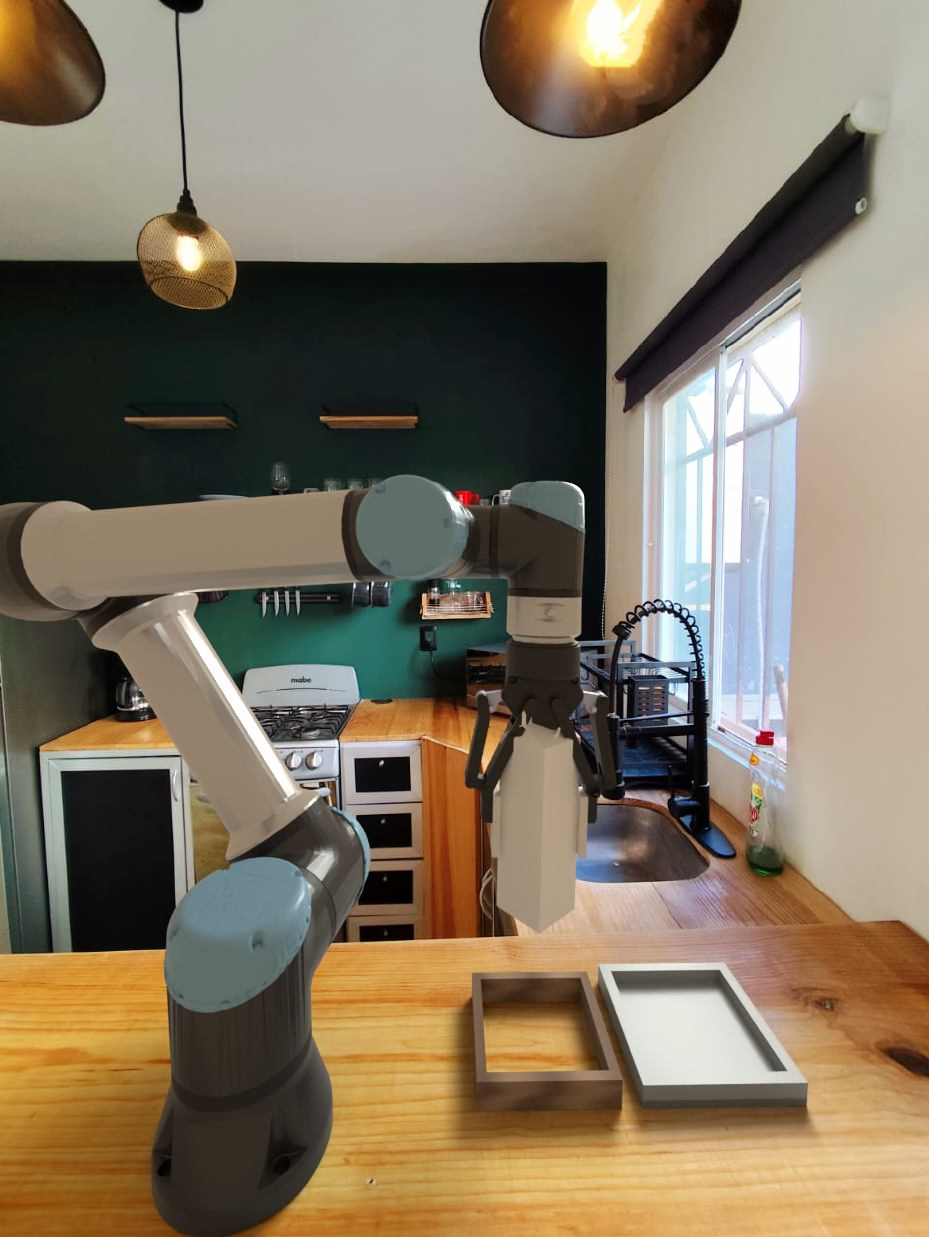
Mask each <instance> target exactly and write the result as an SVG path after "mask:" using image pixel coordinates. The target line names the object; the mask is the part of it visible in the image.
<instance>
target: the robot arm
mask: <svg viewBox="0 0 929 1237" xmlns="http://www.w3.org/2000/svg"><path fill="white" fill-rule="evenodd" d="M509 493H510V494H509V498H508V500H507V503H500V504H493V505H492V504H491V505H487V504H486V505H484V504H483V505H482V504H481V505H479V504H476V505H474V504H461V503H460V501H459V498H457V497H456V496H455V495H454V494H453V493H452V492H451V491H450V490H449V489H448V488H446V487H445V486H444V485H442V484H441V483H439V482H438V481H433V480H430V479H428V478H426V477H423V476H418V475H412V474H398V475H395V476H394V475H393V476H391V477H389V478H386V479H384V480H382V481H380V482H378V483H377V484H376V485H374V486H373V487H366V488H359V489H354V488H353V489H340V490H328V491H317V492H304V493H302V492H301V493H291V494H279V495H267V496H256V497H255V496H254V497H242V498H230V499H220V500H219V499H218V500H207V501H206V500H205V501H204V500H203V501H194V502H192V501H191V502H183V503H170V504H158V505H144V506H133V507H132V506H131V507H120V508H118V507H117V508H109V509H107V508H106V509H96V510H91V509H90V508H89V507H87V506H85V505H83V504H80V503H78V502H74V501H70V500H56V501H55V500H54V501H44V502H28V501H27V502H14V503H13V502H12V503H6V504H3V505H0V614H1V615H5V616H7V617H12V618H13V619H18V620H24V621H33V622H35V621H36V622H54V621H55V622H56V621H67V620H68V621H69V620H72V621H73V620H77V621H78V622H79V624H80V625H81V627H82V629H83V630H84V632H85V633H86V635H87V637H88V638H89V640H90V641H91V642H92V645H93V646H94V647H96V648H98V649H103V650H106V651H107V650H108V651H112V652H115V653H117V655H118V656H119V658H120V659H121V661H122V663H123V664H124V666H125V667H126V668H127V670H128V672H129V673H130V675H131V677H132V679H133V680H134V681H135V683H136V685H137V686H138V688H139V690H140V691H141V693H142V694H143V696H144V698H145V699H146V701H147V702H148V704H149V707H151V709H152V710H153V712H154V715H155V716H156V718H157V719H158V720H159V722H160V724H161V725H162V727H163V728H164V730H165V732H166V733H167V735H168V737H169V738H170V740H171V741H172V743H173V744H174V747H175V748H176V750H177V751H178V753H179V754H180V756H181V757H182V759H183V761H184V762H185V764H186V765H187V767H188V769H189V770H190V772H191V774H192V775H193V777H194V779H195V780H196V782H197V784H198V785H199V786H200V788H201V790H202V791H203V793H204V795H205V797H206V798H207V800H208V801H209V802H210V804H211V807H213V809H214V811H215V812H216V814H217V816H218V817H219V818H220V820H221V822H222V824H223V825H224V827H225V828H226V831H227V832H228V833H229V842H228V845H227V849H226V853H225V856H224V858H225V860H226V861H227V863H228V864H229V868H227V869H224V870H223V869H220V868H219V869H217V870H215V871H213V872H211V873H210V874H208V875H206V876H205V877H203V878H202V879H201V880H199V881H198V882H197V883H196V884H194V885H193V886H192V887H191V888H190V889H189V890H188V891H186V893H185V894H184V896H182V898H181V899H180V900H179V902H178V904H177V905H176V906H175V909H174V910H173V912H172V914H171V917H170V919H169V923H168V926H167V930H166V945H165V946H166V947H165V951H164V958H163V971H164V972H163V976H164V977H163V978H164V983H165V985H166V986H165V987H166V997H167V998H166V1000H167V1001H166V1002H167V1004H166V1005H167V1021H168V1036H169V1037H168V1038H169V1039H168V1040H169V1055H170V1056H169V1057H170V1076H171V1082H170V1085H169V1088H168V1092H167V1095H166V1097H165V1102H164V1105H163V1108H162V1111H161V1114H160V1117H159V1122H158V1123H157V1127H156V1130H155V1133H154V1137H153V1142H152V1145H151V1146H152V1148H151V1154H150V1174H151V1175H150V1176H151V1178H150V1179H151V1190H152V1191H151V1192H152V1197H153V1201H154V1203H155V1207H156V1209H157V1211H158V1213H159V1214H160V1216H161V1217H162V1218H163V1220H164V1221H165V1222H166V1223H167V1224H168V1225H169V1226H170V1227H172V1228H173V1229H175V1230H176V1231H178V1232H180V1233H182V1234H185V1235H188V1236H192V1237H225V1236H230V1235H234V1234H238V1233H241V1232H243V1231H245V1230H248V1229H250V1228H252V1227H254V1226H257V1225H259V1224H261V1223H262V1222H264V1221H265V1220H268V1219H269V1218H271V1217H272V1216H273V1215H275V1214H276V1213H277V1212H279V1211H280V1210H281V1209H283V1208H284V1207H285V1206H286V1205H287V1204H288V1203H289V1202H290V1201H291V1200H293V1198H294V1197H296V1196H297V1194H299V1192H300V1191H301V1190H302V1189H303V1188H304V1187H305V1185H306V1184H307V1183H308V1181H310V1179H311V1178H312V1176H313V1175H314V1173H315V1172H316V1169H317V1168H318V1167H319V1165H320V1163H321V1162H322V1159H323V1158H324V1154H326V1150H327V1147H328V1144H329V1142H330V1138H331V1133H332V1129H333V1118H334V1109H333V1108H334V1105H333V1102H334V1101H333V1088H332V1087H333V1086H332V1081H331V1077H330V1074H329V1072H328V1069H327V1068H326V1065H325V1063H324V1062H325V1061H324V1060H323V1058H322V1055H321V1052H320V1051H319V1048H318V1046H317V1043H316V1040H315V1038H314V1037H313V1028H312V1025H313V1024H312V1022H313V1021H312V983H313V978H314V975H315V973H316V971H317V969H318V967H319V966H320V964H321V961H322V960H323V958H324V957H325V955H326V953H327V951H328V949H329V948H330V947H331V945H332V944H333V941H334V940H335V937H336V936H337V934H338V932H340V929H341V927H342V926H343V924H344V922H345V920H346V918H347V917H348V915H349V914H350V912H351V910H352V909H353V908H354V906H356V905H357V902H358V900H359V899H360V897H361V895H362V893H363V890H364V886H365V883H366V881H367V878H368V876H369V872H370V866H371V849H370V844H369V841H368V836H367V834H366V832H365V831H364V828H363V827H362V826H361V824H360V822H359V821H358V820H357V819H356V818H355V817H354V816H353V815H352V814H350V812H347V811H345V810H340V809H338V808H337V807H335V806H331V805H328V804H327V802H326V801H325V800H324V798H323V797H322V795H321V793H320V792H319V791H316V790H312V789H307V788H302V787H301V786H300V785H299V784H298V782H296V779H295V778H294V777H293V775H292V773H291V771H290V770H289V768H288V766H287V765H286V763H285V762H284V760H283V759H282V757H281V755H280V754H279V752H278V750H277V749H276V747H275V746H274V744H273V742H272V741H271V740H270V738H269V736H268V734H267V733H266V731H265V730H264V728H263V726H262V725H261V723H260V721H259V720H258V719H257V717H256V715H255V713H254V712H253V710H252V708H251V707H250V705H249V703H248V701H246V699H245V697H244V696H243V694H242V692H241V690H240V689H239V688H238V686H237V685H236V682H235V680H233V677H232V676H231V674H230V673H229V671H228V670H227V669H226V666H225V665H224V664H223V661H222V660H221V658H220V657H219V655H218V654H217V652H216V650H215V649H214V648H213V646H212V644H211V643H210V641H209V639H208V638H207V635H206V634H205V632H204V631H203V628H201V626H200V625H199V623H198V622H197V620H196V618H195V615H194V614H195V612H196V609H197V606H198V603H199V597H198V595H197V593H198V592H199V593H201V592H216V591H217V592H218V591H230V590H231V591H234V590H247V589H248V590H249V589H250V590H251V589H265V588H266V589H267V588H268V589H269V588H279V587H280V588H281V587H282V588H283V587H299V586H302V587H303V586H313V585H314V586H315V585H333V584H347V583H348V584H352V583H364V582H365V583H367V582H368V583H374V582H375V583H379V582H380V583H381V582H395V581H403V582H404V581H405V582H415V581H426V580H432V579H434V580H435V579H437V580H438V579H453V580H454V579H460V580H461V579H463V580H464V579H492V580H499V579H502V580H503V579H504V580H507V585H508V586H507V587H508V588H507V601H506V602H507V603H506V604H507V606H506V608H507V610H506V632H507V633H508V634H509V635H510V636H511V638H509V639H508V641H506V648H505V649H506V650H505V679H504V682H503V683H502V686H501V688H500V689H495V690H489V691H485V690H484V689H478V690H477V691H476V693H475V702H476V707H477V710H476V711H477V713H476V717H475V723H474V726H473V727H474V728H473V733H472V736H471V741H470V746H469V751H468V756H467V760H466V764H465V770H464V785H465V787H466V788H467V789H469V790H470V789H474V790H477V791H478V792H480V818H481V821H482V824H490V840H489V843H490V845H489V846H490V851H491V858H498V857H499V853H500V810H501V795H500V790H499V785H498V784H499V780H500V777H501V775H502V773H503V771H504V769H505V767H506V765H507V763H508V761H509V759H510V757H511V755H512V753H513V751H514V738H515V737H520V736H522V735H523V733H524V731H525V728H524V727H523V726H521V727H519V726H520V725H522V712H523V711H525V713H526V724H527V725H528V723H529V721H530V719H531V717H532V723H534V724H536V725H539V726H543V727H545V728H548V729H550V730H557V728H559V727H560V728H561V729H560V730H561V732H562V734H563V735H564V737H565V738H570V739H572V740H573V759H574V761H575V764H576V766H577V769H578V771H579V780H580V781H581V784H582V786H579V797H578V826H577V858H579V859H585V858H586V859H587V844H588V843H587V842H588V824H590V825H591V824H592V825H593V824H596V822H597V819H598V800H599V798H600V797H601V796H602V791H606V790H609V791H611V790H614V789H615V788H616V787H617V786H618V783H617V777H616V776H617V775H616V770H615V762H614V756H613V749H612V743H611V738H610V736H611V735H610V730H609V725H608V724H609V723H608V716H609V710H610V705H611V699H610V697H609V696H607V695H606V694H605V693H604V692H603V691H601V690H596V691H594V692H591V691H585V690H583V688H582V686H581V684H580V683H581V682H580V675H581V674H580V672H581V671H580V670H581V669H580V668H581V667H580V665H581V644H579V641H577V640H576V639H575V638H577V637H579V636H580V635H581V634H582V600H583V599H582V596H583V580H584V579H583V578H584V577H583V576H584V558H585V556H584V555H585V536H586V528H585V496H584V493H583V491H582V490H581V488H580V487H578V486H577V485H575V484H573V483H571V482H570V483H569V482H565V481H558V480H555V481H553V480H552V481H551V480H539V481H538V480H537V481H532V482H531V481H528V482H527V481H526V482H521V483H518V484H516V485H513V487H511V488H510V492H509ZM196 592H197V593H196ZM500 702H503V703H504V705H505V706H506V707H507V709H508V710H509V712H510V713H511V715H510V717H509V719H508V721H507V724H506V727H505V730H504V732H503V733H505V732H508V731H509V732H508V733H507V735H506V737H505V738H504V740H503V741H502V743H501V744H500V741H499V742H498V743H497V746H496V748H495V749H494V752H493V754H492V756H491V758H490V761H489V762H488V763H487V766H486V768H485V770H484V772H483V774H481V773H480V770H481V765H482V760H483V756H484V751H485V746H486V743H487V739H488V738H487V736H488V732H489V728H490V723H491V722H490V721H491V714H492V713H495V712H496V711H497V709H498V704H499V703H500ZM581 703H584V709H585V710H586V712H588V713H589V721H590V727H591V734H592V742H593V746H594V752H595V761H596V767H597V774H593V773H594V772H593V771H592V769H591V766H590V765H589V761H588V759H587V757H586V755H585V753H584V752H585V751H584V750H583V747H582V745H581V744H580V743H579V740H578V738H577V736H576V733H577V732H576V730H575V728H574V725H573V722H572V721H571V719H570V718H571V716H572V715H573V714H574V713H575V712H576V710H577V709H578V707H579V706H580V705H581Z"/></svg>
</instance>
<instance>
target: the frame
mask: <svg viewBox="0 0 929 1237" xmlns="http://www.w3.org/2000/svg"><path fill="white" fill-rule="evenodd" d="M471 1000H472V1001H471V1003H472V1004H471V1010H472V1029H473V1053H474V1056H473V1058H474V1076H475V1078H474V1079H475V1098H476V1100H475V1101H476V1102H475V1104H476V1112H500V1111H501V1112H502V1111H504V1112H505V1111H507V1112H508V1111H509V1112H510V1111H511V1112H512V1111H514V1112H515V1111H557V1110H558V1111H559V1110H560V1111H561V1110H565V1111H566V1110H567V1111H569V1110H570V1111H571V1110H621V1109H623V1095H624V1094H623V1092H624V1091H623V1086H624V1085H623V1084H624V1079H623V1075H622V1073H621V1070H620V1067H619V1064H618V1062H617V1058H616V1056H615V1052H614V1049H613V1047H612V1043H611V1040H610V1037H609V1034H608V1032H607V1031H608V1030H607V1028H606V1025H605V1023H604V1019H603V1016H602V1013H601V1011H600V1010H601V1009H600V1006H599V1005H598V1001H597V998H596V996H595V992H594V989H593V987H592V983H591V981H590V977H589V974H588V971H524V972H523V971H518V972H517V971H514V972H512V971H511V972H510V971H509V972H507V971H506V972H499V971H498V972H471ZM531 1002H533V1003H535V1002H537V1003H539V1002H540V1003H541V1002H543V1003H544V1002H545V1003H546V1002H579V1003H580V1006H581V1009H582V1012H583V1015H584V1016H583V1017H584V1021H585V1023H586V1026H587V1029H588V1033H589V1036H590V1040H591V1043H592V1044H591V1045H592V1047H593V1049H594V1050H593V1051H594V1053H595V1056H596V1060H597V1064H598V1067H599V1070H598V1069H597V1070H552V1071H551V1070H547V1071H544V1070H543V1071H541V1070H540V1071H538V1070H537V1071H487V1058H486V1057H487V1055H486V1054H487V1053H486V1040H485V1039H486V1038H485V1026H484V1025H485V1024H484V1023H485V1022H484V1010H483V1009H484V1008H483V1003H531Z"/></svg>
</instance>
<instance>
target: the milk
mask: <svg viewBox="0 0 929 1237" xmlns="http://www.w3.org/2000/svg"><path fill="white" fill-rule="evenodd" d="M521 726H523V727H524V728H525V731H524V733H523V735H522V736H520V737H515V738H514V751H513V753H512V755H511V757H510V759H509V761H508V763H507V765H506V767H505V769H504V771H503V773H502V775H501V777H500V779H499V781H498V786H499V790H500V795H501V810H500V853H499V857H497V872H496V873H497V874H496V878H497V880H496V907H498V908H499V909H500V910H501V911H503V912H505V913H507V914H508V915H509V916H511V917H513V918H514V919H516V920H518V921H519V922H520V923H522V924H523V925H525V926H526V927H529V928H530V929H532V930H533V931H535V932H536V933H537V934H541V933H543V932H544V931H546V930H547V929H548V928H549V927H551V926H553V925H554V924H556V923H557V922H559V921H560V920H561V919H562V918H564V917H566V916H567V915H569V913H571V912H572V911H575V908H576V881H577V880H576V879H577V857H578V855H577V826H578V797H579V787H580V776H579V771H578V769H577V766H576V764H575V761H574V759H573V740H572V739H570V738H565V737H564V735H563V734H562V732H561V730H560V729H561V728H560V727H559V728H557V730H550V729H548V728H545V727H543V726H539V725H536V724H534V723H532V717H531V719H530V721H529V723H528V725H527V724H526V713H525V711H523V712H522V725H520V726H519V727H521ZM508 732H509V731H508ZM508 732H505V733H504V732H503V733H501V734H500V736H499V737H500V740H499V742H500V744H501V743H502V741H503V740H504V738H505V737H506V735H507V733H508ZM576 736H577V738H578V740H579V743H580V745H581V743H582V742H581V741H582V739H581V738H582V737H581V736H580V735H579V734H578V732H576Z"/></svg>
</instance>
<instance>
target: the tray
mask: <svg viewBox="0 0 929 1237" xmlns="http://www.w3.org/2000/svg"><path fill="white" fill-rule="evenodd" d="M597 968H598V969H597V971H598V972H597V983H598V985H599V990H600V992H601V995H602V997H603V1000H604V1003H605V1006H606V1008H607V1011H608V1013H609V1017H610V1019H611V1022H612V1026H613V1029H614V1031H615V1034H616V1037H617V1040H618V1042H619V1046H620V1048H621V1052H622V1054H623V1056H624V1060H625V1062H626V1065H627V1068H628V1071H629V1073H630V1076H631V1079H632V1081H633V1085H634V1087H635V1091H636V1093H637V1096H638V1099H639V1102H640V1105H641V1108H642V1109H681V1108H682V1109H688V1108H691V1109H693V1108H696V1109H697V1108H699V1109H700V1108H738V1107H739V1108H745V1107H748V1108H750V1107H752V1108H753V1107H755V1108H756V1107H758V1108H759V1107H760V1108H761V1107H805V1106H806V1107H807V1105H808V1093H809V1092H808V1091H809V1090H808V1089H809V1082H808V1080H807V1079H806V1078H805V1077H804V1075H803V1074H802V1072H801V1070H800V1069H799V1067H798V1066H797V1065H796V1063H795V1062H794V1061H793V1059H792V1058H791V1055H790V1054H789V1053H788V1052H787V1050H786V1048H785V1047H784V1046H783V1045H782V1044H781V1041H779V1039H778V1037H777V1036H776V1034H775V1033H774V1032H773V1030H772V1029H771V1027H770V1026H769V1025H768V1023H767V1022H766V1020H765V1019H764V1018H763V1016H762V1015H761V1013H760V1011H759V1010H758V1009H757V1007H756V1006H755V1004H754V1003H753V1002H752V1000H751V999H750V997H749V996H748V994H747V993H746V992H745V990H744V989H743V987H742V986H741V985H740V983H739V981H738V980H737V979H736V977H735V976H734V975H733V973H732V972H731V970H730V969H729V968H728V966H727V965H726V963H725V962H670V963H669V962H663V963H662V962H659V963H656V962H655V963H645V962H644V963H598V967H597Z"/></svg>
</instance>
